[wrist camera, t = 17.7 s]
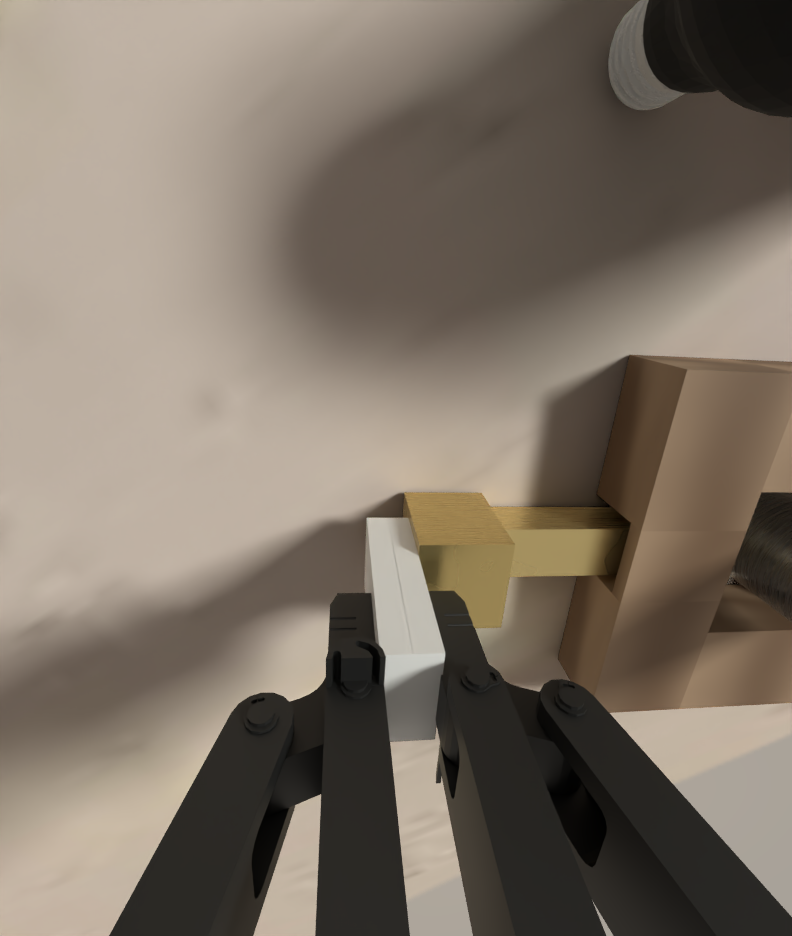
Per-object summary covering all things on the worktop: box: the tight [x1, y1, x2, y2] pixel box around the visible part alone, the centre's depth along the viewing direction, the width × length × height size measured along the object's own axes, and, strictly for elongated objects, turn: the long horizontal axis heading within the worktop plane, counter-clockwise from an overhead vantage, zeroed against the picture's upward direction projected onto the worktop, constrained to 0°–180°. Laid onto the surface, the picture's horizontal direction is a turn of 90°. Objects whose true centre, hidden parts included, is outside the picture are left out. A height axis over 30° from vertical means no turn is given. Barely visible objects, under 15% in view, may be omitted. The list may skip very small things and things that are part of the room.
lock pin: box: [403, 492, 631, 628], centre depth 17 cm, size 12×3×4 cm, turn 87°
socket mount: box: [558, 355, 792, 713], centre depth 19 cm, size 14×14×3 cm
